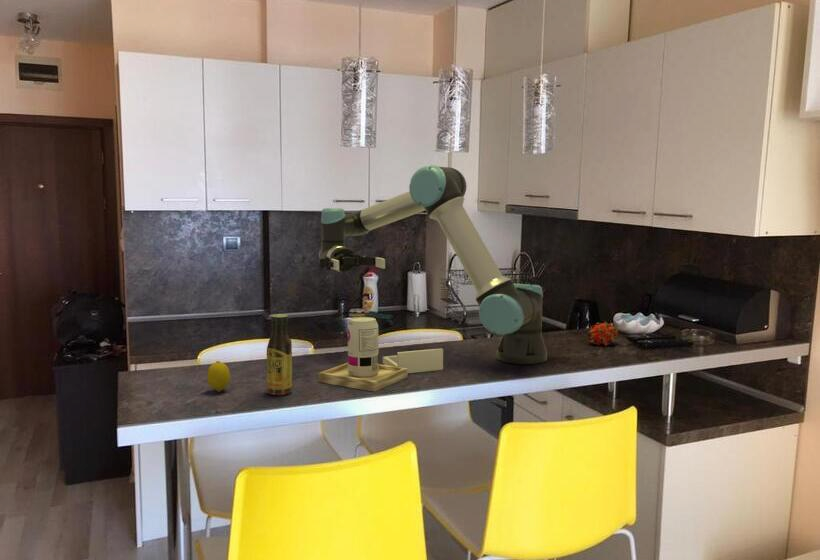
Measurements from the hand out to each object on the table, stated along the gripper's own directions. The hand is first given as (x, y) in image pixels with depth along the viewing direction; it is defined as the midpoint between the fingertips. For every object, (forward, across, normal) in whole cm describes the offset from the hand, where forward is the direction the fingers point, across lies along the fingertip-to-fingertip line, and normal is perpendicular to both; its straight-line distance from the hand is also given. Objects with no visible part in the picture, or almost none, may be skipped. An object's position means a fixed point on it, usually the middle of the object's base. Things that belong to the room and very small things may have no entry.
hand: (361, 264), depth 187 cm
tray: (+12, +3, -30) cm, 32 cm away
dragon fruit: (0, -84, -30) cm, 89 cm away
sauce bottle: (+16, +27, -30) cm, 43 cm away
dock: (+3, -14, -30) cm, 33 cm away
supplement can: (+12, +3, -29) cm, 31 cm away
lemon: (+10, +41, -30) cm, 52 cm away
